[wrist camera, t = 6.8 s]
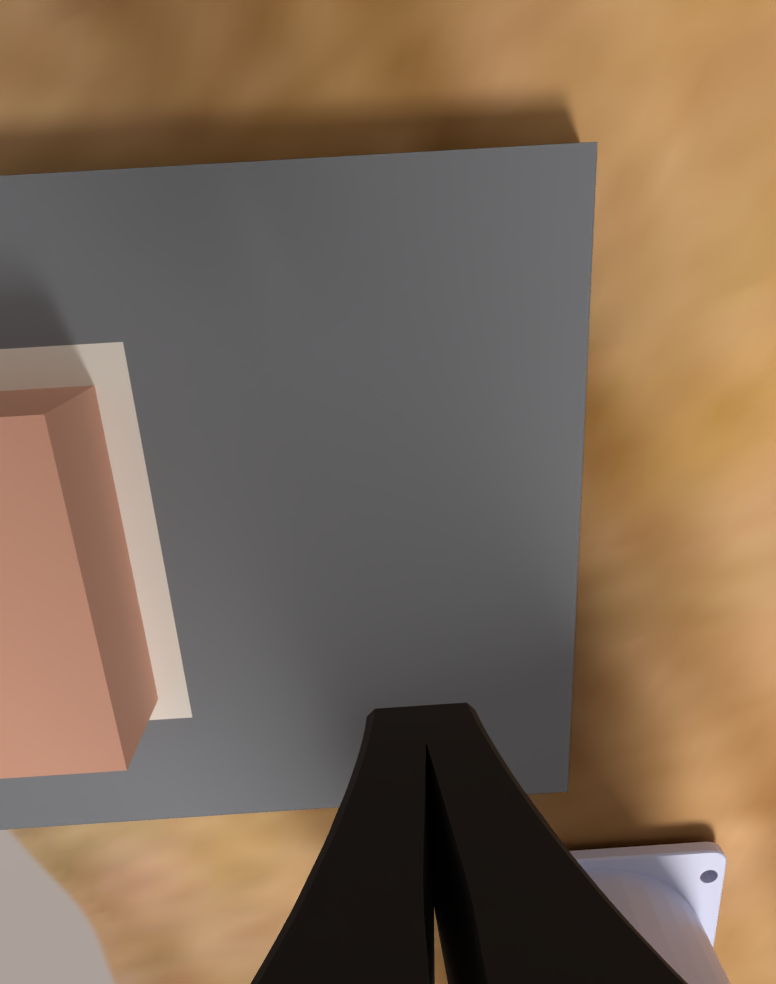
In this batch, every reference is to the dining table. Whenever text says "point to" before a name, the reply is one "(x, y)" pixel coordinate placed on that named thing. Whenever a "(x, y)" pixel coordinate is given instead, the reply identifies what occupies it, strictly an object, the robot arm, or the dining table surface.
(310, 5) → the dining table surface
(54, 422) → the t block
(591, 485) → the dining table surface
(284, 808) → the board
